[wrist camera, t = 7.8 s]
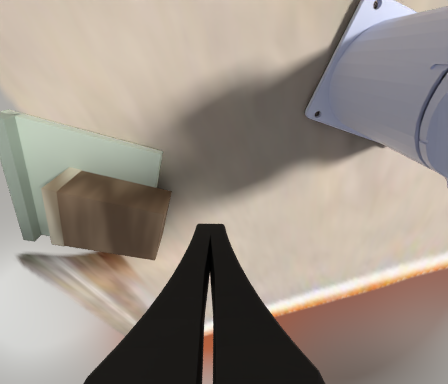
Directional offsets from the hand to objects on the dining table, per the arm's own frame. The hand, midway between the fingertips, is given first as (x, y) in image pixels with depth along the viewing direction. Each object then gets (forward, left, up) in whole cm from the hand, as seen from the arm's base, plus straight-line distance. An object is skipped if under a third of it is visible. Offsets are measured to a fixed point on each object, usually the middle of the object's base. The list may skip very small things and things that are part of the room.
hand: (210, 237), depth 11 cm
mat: (+10, +7, -10) cm, 16 cm away
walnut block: (+3, +7, -7) cm, 11 cm away
